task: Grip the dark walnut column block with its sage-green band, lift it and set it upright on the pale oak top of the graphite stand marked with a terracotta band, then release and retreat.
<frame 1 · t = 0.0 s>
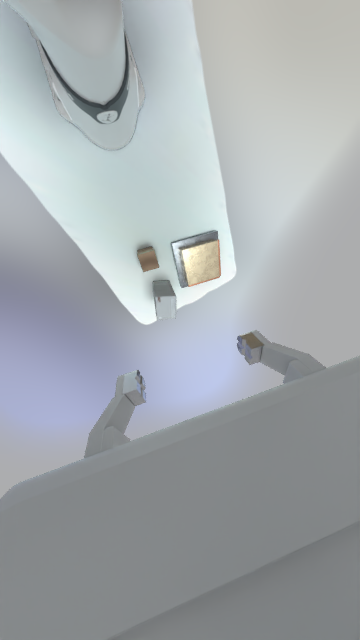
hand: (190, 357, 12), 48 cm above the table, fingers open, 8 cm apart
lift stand: (196, 260, 56), on the table
skincare box: (160, 289, 59), on the table
walnut column: (147, 256, 51), on the table
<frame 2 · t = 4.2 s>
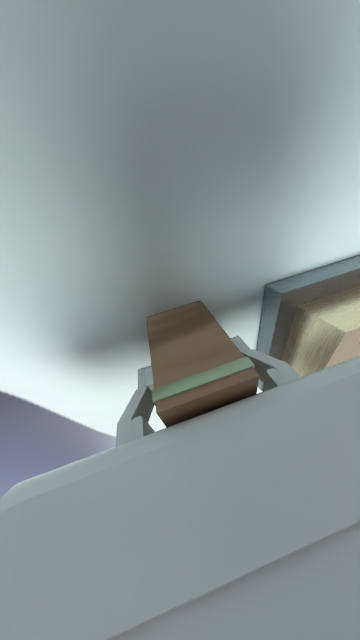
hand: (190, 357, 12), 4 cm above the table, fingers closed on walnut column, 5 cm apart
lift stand: (313, 323, 19), on the table
walnut column: (179, 330, 15), on the table, touching gripper
when the fingers open (11 cm above the table, at t = 11.6 s): walnut column drops 1 cm, resting on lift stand.
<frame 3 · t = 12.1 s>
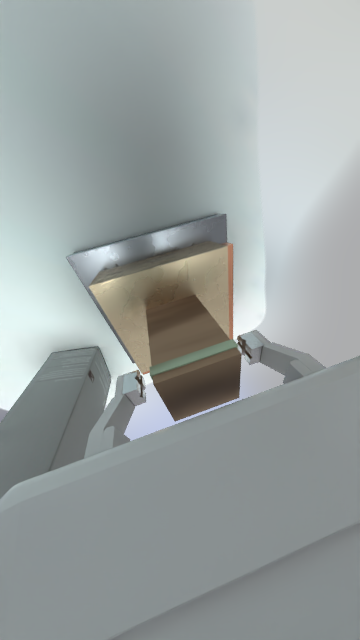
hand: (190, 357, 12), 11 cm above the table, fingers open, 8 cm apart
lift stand: (167, 298, 21), on the table
skincare box: (82, 365, 24), on the table
walnut column: (176, 322, 16), point 6 cm above the table, touching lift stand
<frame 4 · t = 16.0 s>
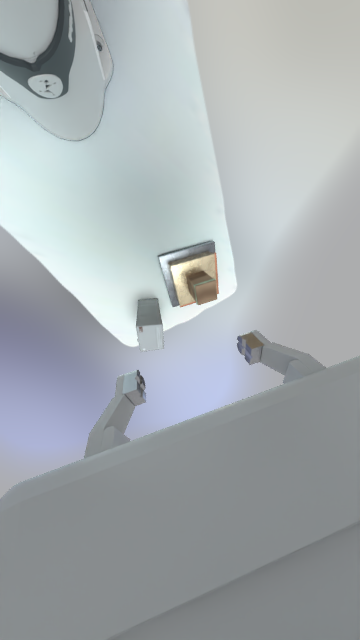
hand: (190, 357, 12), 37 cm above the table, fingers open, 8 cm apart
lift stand: (189, 275, 47), on the table
skincare box: (148, 308, 50), on the table
walnut column: (195, 281, 42), point 6 cm above the table, touching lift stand
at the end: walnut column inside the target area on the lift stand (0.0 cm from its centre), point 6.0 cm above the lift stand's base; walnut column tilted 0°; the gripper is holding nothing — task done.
